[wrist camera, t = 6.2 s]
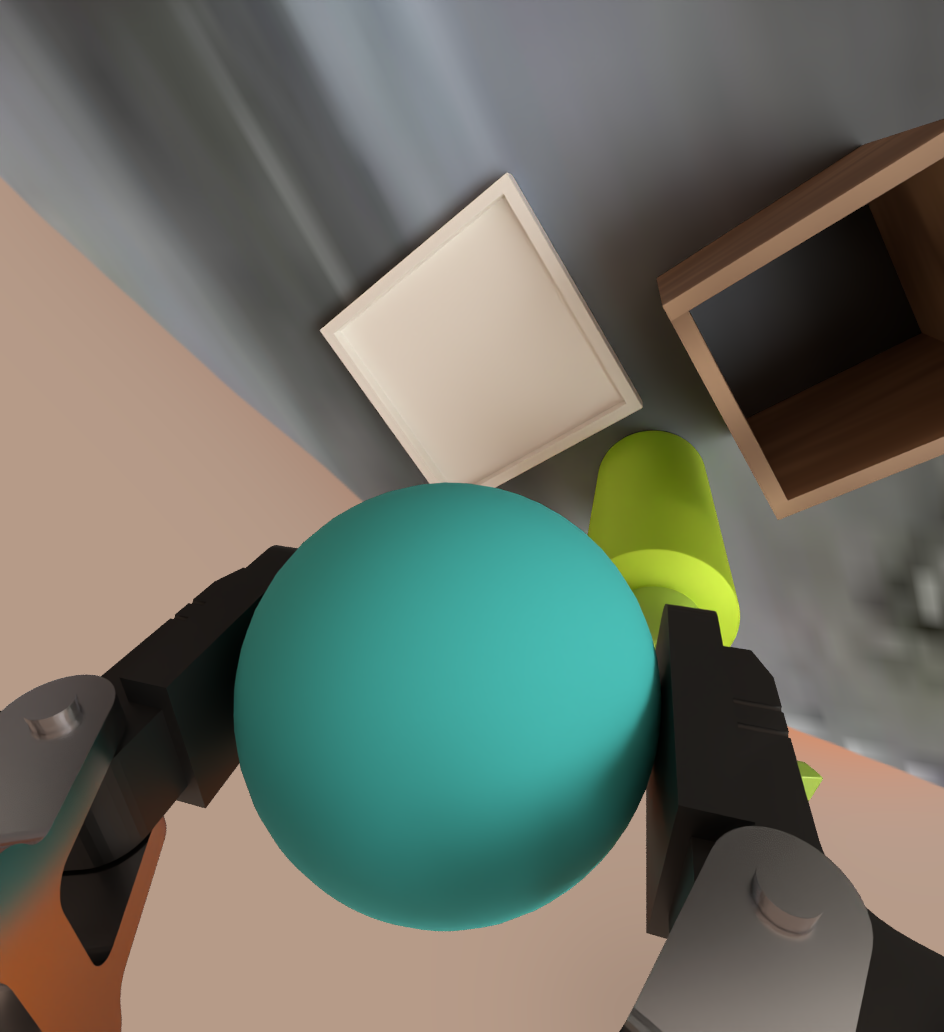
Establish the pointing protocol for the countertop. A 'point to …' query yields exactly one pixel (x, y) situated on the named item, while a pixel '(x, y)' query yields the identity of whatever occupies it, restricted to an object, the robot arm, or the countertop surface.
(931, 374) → the box
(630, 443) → the soap dispenser
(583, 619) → the ball
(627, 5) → the countertop surface
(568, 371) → the dish
